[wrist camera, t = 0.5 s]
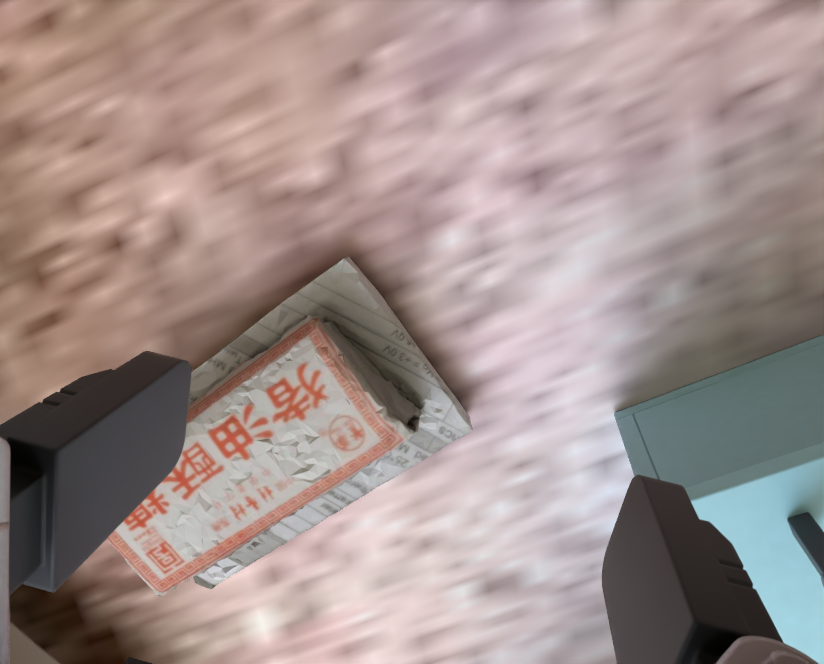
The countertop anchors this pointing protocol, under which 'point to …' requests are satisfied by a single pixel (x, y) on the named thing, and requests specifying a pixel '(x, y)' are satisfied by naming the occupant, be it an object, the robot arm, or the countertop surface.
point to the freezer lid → (777, 537)
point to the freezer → (729, 418)
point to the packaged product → (290, 432)
